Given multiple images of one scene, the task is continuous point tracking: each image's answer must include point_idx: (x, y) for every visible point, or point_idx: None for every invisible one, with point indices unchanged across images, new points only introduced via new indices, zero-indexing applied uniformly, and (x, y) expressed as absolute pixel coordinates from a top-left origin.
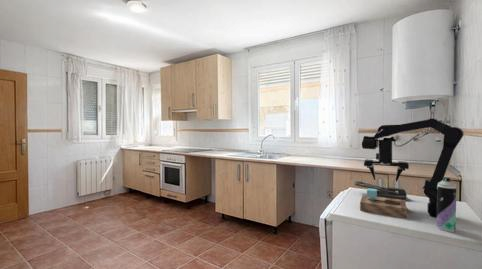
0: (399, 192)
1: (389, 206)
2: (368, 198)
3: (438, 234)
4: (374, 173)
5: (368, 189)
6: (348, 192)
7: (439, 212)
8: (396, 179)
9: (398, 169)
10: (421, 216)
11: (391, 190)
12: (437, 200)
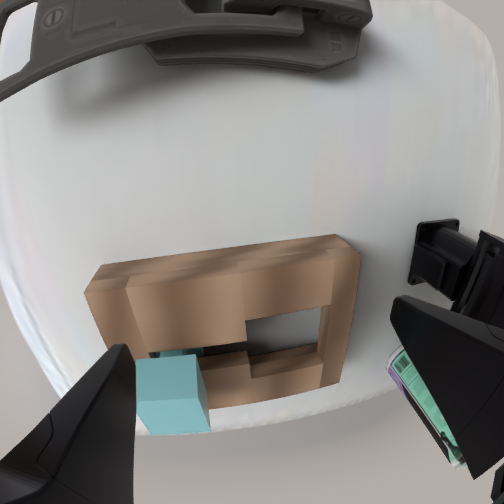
0: (329, 15)
1: (272, 398)
2: (147, 351)
3: (370, 397)
4: (121, 464)
5: (151, 423)
6: None
7: (411, 404)
8: (411, 352)
9: (476, 473)
10: (378, 303)
11: (273, 5)
12: (428, 426)
